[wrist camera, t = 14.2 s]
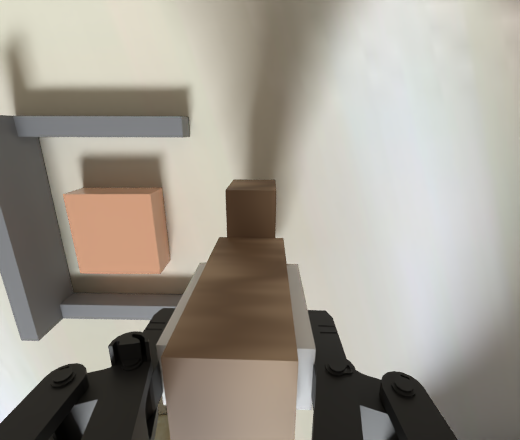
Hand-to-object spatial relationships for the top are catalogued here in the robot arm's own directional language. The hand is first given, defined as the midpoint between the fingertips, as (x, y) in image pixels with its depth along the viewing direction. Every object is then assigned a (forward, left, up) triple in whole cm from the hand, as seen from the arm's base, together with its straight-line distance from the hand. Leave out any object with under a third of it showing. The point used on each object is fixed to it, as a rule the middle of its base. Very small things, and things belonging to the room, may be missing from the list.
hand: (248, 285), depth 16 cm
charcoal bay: (+12, 0, -10) cm, 16 cm away
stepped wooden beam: (0, 0, -6) cm, 6 cm away
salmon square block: (+12, 0, -10) cm, 16 cm away
